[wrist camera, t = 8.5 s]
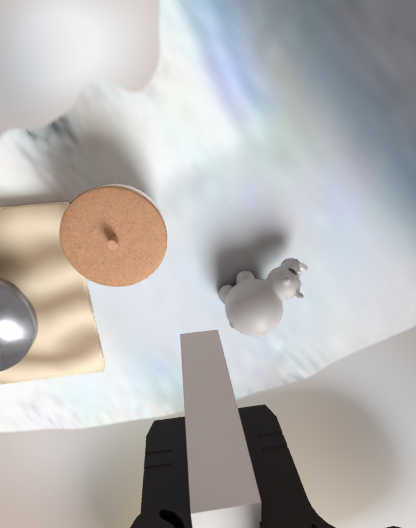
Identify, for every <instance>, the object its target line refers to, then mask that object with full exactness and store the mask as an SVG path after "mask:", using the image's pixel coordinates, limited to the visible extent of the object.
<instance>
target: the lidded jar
mask: <svg viewBox="0 0 416 528" xmlns="http://www.w3.org/2000/svg"><path fill="white" fill-rule="evenodd" d="M59 236H60V243H61V247H62V250H63V253H64V255H65V257H66V258H67V260H68V262H69V263H70V264H71V265H72V267H73V268H74V269H75V270H76V271H77V272H78V273H80V274H81V275H82V276H84V277H85V278H87V279H89V280H91V281H93V282H95V283H98V284H101V285H106V286H113V287H121V286H128V285H133V284H135V283H138V282H140V281H142V280H144V279H146V278H147V277H149V276H150V275H151V274H152V273H153V272H154V271H155V270H156V269H157V268H158V266H159V265H160V263H161V262H162V260H163V258H164V255H165V252H166V248H167V231H166V226H165V222H164V219H163V216H162V214H161V212H160V210H159V208H158V207H157V205H156V204H155V203H154V201H153V200H152V199H151V198H150V197H149V196H148V195H146V194H145V193H143V192H142V191H140V190H139V189H136V188H134V187H131V186H128V185H123V184H107V185H102V186H98V187H95V188H93V189H90V190H87V191H86V192H84V193H82V194H81V195H79V196H78V197H77V198H75V199H74V200H73V201H72V202H71V203H70V205H69V206H68V207H67V209H66V210H65V212H64V214H63V216H62V219H61V222H60V229H59Z"/></svg>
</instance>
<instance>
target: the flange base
mask: <svg viewBox="0 0 416 528" xmlns="http://www.w3.org/2000/svg"><path fill="white" fill-rule="evenodd" d="M68 206H69V201H66V202H54V203H42V204H30V205H18V206H6V207H0V278H3V279H5V280H6V281H8V282H10V283H12V284H13V285H14V286H16V287H17V288H18V289H19V290H20V291H22V292H23V293H24V295H25V296H26V297H27V298H28V299H29V301H30V302H31V304H32V305H33V307H34V310H35V312H36V315H37V319H38V332H37V336H36V339H35V341H34V343H33V345H32V347H31V348H30V350H29V351H28V353H27V354H26V355H25V357H24V358H23V359H22V360H21V361H20V362H19V363H17V364H16V365H14V366H13V367H11V368H9V369H6V370H4V371H1V372H0V384H7V383H15V382H23V381H31V380H39V379H47V378H55V377H63V376H71V375H79V374H87V373H95V372H103V371H104V368H105V361H104V356H103V352H102V348H101V343H100V339H99V334H98V330H97V325H96V321H95V316H94V312H93V308H92V303H91V299H90V294H89V290H88V285H87V281H86V278H85V277H84V276H82V275H81V274H80V273H78V272H77V271H76V270H75V269H74V268H73V267H72V265H71V264H70V263H69V262H68V260H67V258H66V257H65V255H64V253H63V250H62V247H61V243H60V236H59V229H60V222H61V219H62V216H63V214H64V212H65V210H66V209H67V207H68Z"/></svg>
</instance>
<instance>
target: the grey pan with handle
mask: <svg viewBox="0 0 416 528" xmlns="http://www.w3.org/2000/svg"><path fill="white" fill-rule="evenodd" d="M37 332H38V319H37V315H36V312H35V310H34V307H33V305H32V304H31V302H30V301H29V299H28V298H27V297H26V296H25V295H24V293H23V292H22V291H20V290H19V289H18V288H17V287H16V286H14V285H13V284H12V283H10V282H8V281H6V280H5V279H3V278H0V372H1V371H4V370H6V369H9V368H11V367H13V366H14V365H16V364H17V363H19V362H20V361H21V360H22V359H23V358H24V357H25V355H26V354H27V353H28V351H29V350H30V348H31V347H32V345H33V343H34V341H35V339H36V336H37Z"/></svg>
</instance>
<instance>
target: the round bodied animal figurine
mask: <svg viewBox="0 0 416 528" xmlns="http://www.w3.org/2000/svg"><path fill="white" fill-rule="evenodd" d="M304 269H305V270H307V269H308V267H307V265H306V264H304V263H301V262H299V261H298V260H297V259H294V258H288V259H286V260H284V261H283V262H282V263H281V265H280V266H279V267H277V268H275V269H273V270H272V271H271V272H270V273H269V275H268V277H267V279H266V280H260V279H255V277H254V275H253V274H252V273H251V272H250V271H241V272H239V273H238V274H237V276H236V284H237V285H235V286H232V285H224V286H222V287H221V289H220V290H219V298H220V300H221V301H222V302H223V303H224V304H226V305H225V309H226V315H227V318H228V320H229V323H230V326H231V327H232V328H234V329H236V330H237V331H239V332H240V333H242V334H245V335H248V336H262V335H265V334H267V333H269V332H271V331H272V330H273V329H274V328H275V327H276V326H277V325H278V323H279V322H280V320H281V317H282V313H283V300H286V299H290V298H292V297H294V296H296V297H298V298H303V294H301V293H300V287H301V282H300V280H299V277H300V275H301V273H302V270H304Z"/></svg>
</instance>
